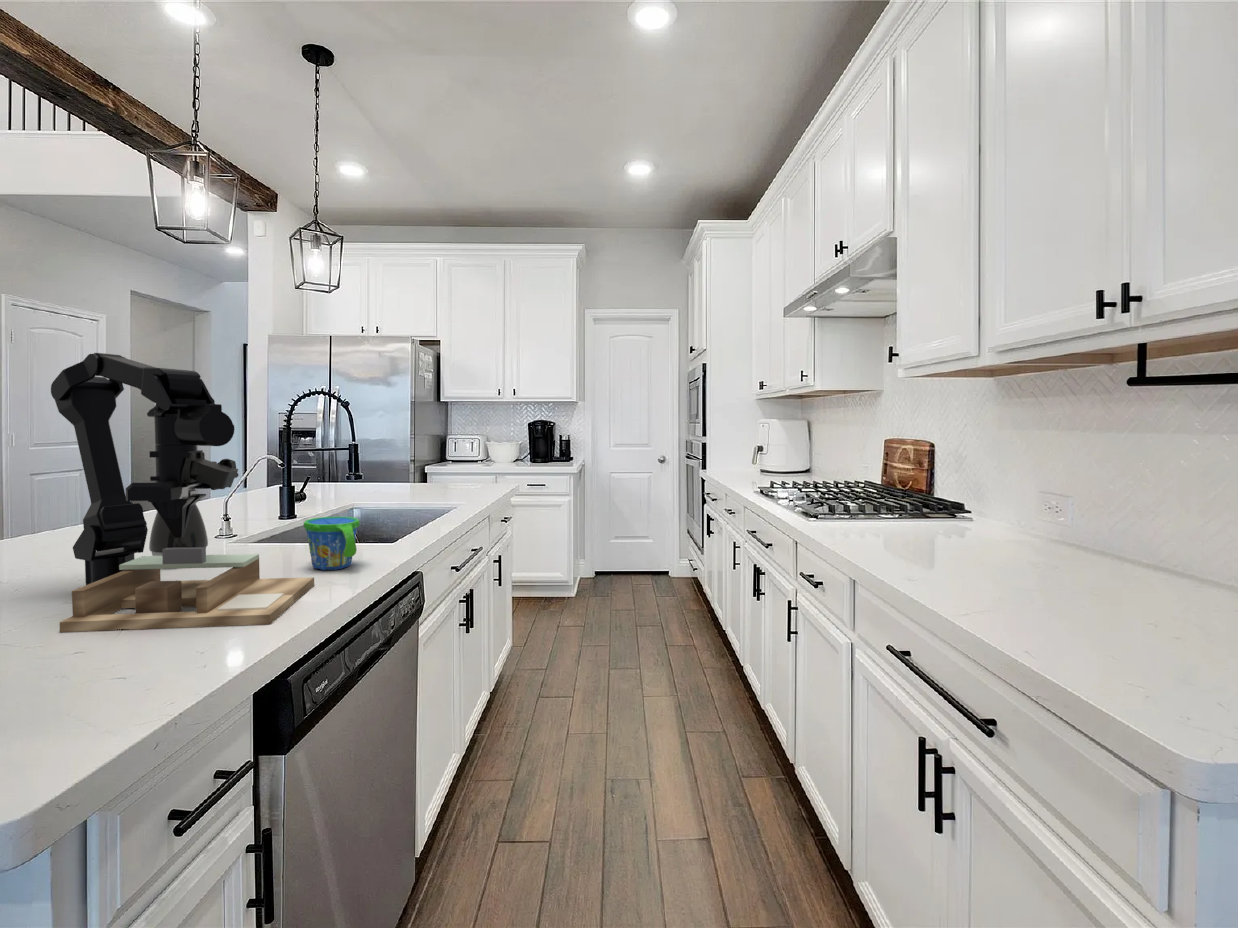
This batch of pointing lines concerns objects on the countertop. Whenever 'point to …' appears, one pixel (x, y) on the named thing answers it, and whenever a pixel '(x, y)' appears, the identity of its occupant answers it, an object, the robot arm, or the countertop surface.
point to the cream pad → (251, 602)
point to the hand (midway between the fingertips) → (179, 537)
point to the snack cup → (331, 541)
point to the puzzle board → (205, 595)
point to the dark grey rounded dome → (165, 538)
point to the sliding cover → (188, 560)
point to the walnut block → (159, 597)
